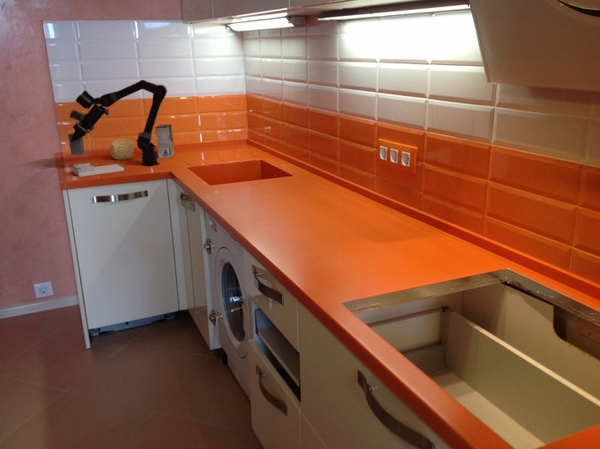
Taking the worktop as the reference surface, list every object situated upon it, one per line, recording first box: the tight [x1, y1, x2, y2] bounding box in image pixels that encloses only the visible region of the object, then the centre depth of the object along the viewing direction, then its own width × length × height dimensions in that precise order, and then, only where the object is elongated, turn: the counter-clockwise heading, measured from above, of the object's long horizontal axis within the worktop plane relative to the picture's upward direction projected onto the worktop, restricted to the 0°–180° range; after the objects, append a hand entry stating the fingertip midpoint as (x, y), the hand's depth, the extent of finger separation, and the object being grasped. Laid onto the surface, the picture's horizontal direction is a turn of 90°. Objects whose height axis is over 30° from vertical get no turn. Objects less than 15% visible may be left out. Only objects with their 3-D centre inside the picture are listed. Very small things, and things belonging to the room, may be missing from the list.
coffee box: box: [155, 124, 175, 159], centre depth 285 cm, size 9×6×16 cm
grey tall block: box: [67, 129, 85, 156], centre depth 260 cm, size 5×5×11 cm
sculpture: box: [109, 137, 135, 161], centre depth 281 cm, size 11×12×11 cm
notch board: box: [73, 162, 125, 178], centre depth 255 cm, size 20×11×4 cm, turn 124°
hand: (72, 140), depth 259 cm, fingers closed on grey tall block, 5 cm apart
